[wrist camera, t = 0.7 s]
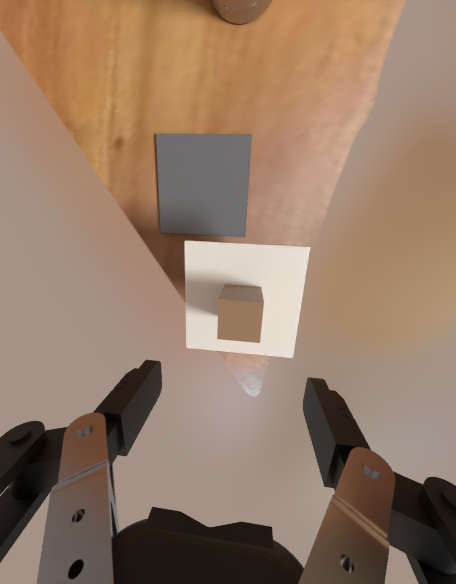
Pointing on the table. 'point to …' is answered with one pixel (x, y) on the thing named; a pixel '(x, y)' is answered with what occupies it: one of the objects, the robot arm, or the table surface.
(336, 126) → the table surface
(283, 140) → the table surface
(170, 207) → the mat
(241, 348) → the lid
